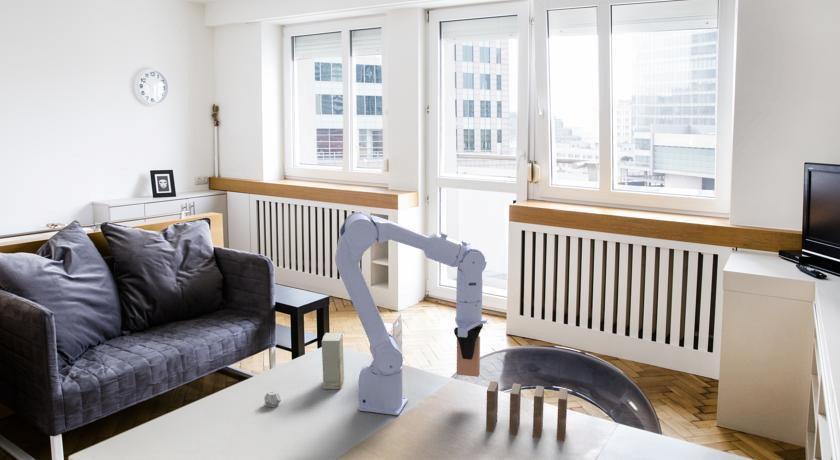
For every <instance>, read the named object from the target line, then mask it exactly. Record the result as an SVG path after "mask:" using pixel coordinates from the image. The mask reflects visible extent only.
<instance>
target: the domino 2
mask: <svg viewBox="0 0 840 460" xmlns="http://www.w3.org/2000/svg"><path fill="white" fill-rule="evenodd" d="M521 393H522V384H521V383H514V382H513V383H512V387H511V389H510V393H509V395H510V396H509V423H508V425H509V426H508V427H509V428H508V430H509V431H508V434H509V435H514V436H518V432H519V428H520V424H521V398H522V397H521Z"/></svg>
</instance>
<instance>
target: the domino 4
mask: <svg viewBox="0 0 840 460" xmlns="http://www.w3.org/2000/svg"><path fill="white" fill-rule="evenodd" d="M568 391H569V390H568V388H560V387H559V392H558V401H557V420H556V421H557V423H556V441H561V442H566V441H565V440H566V431H567V417H568V416H567V411H568Z"/></svg>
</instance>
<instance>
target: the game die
mask: <svg viewBox="0 0 840 460" xmlns="http://www.w3.org/2000/svg"><path fill="white" fill-rule="evenodd" d="M263 399H264V404H265V405H266V406H267V407H269V408H275V407H277V406H279V404H280V402H282V399H281V394H279V392H278V391H275V390H270V391H268V392H267V393H266V394H265V396H264V398H263Z"/></svg>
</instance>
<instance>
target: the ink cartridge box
mask: <svg viewBox="0 0 840 460" xmlns="http://www.w3.org/2000/svg"><path fill="white" fill-rule="evenodd" d="M384 325H385V327H386V329H387V331H388V333H389V334H390V335H392V336H393V337H394V338H395V339H396V341H397V346H398V348H399V351H400V352H401V354H402V355H403V322H402V314H401V313H399V314H398V316H396V318H395V319H394V321H393V322H392V323H388V322H384Z"/></svg>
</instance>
